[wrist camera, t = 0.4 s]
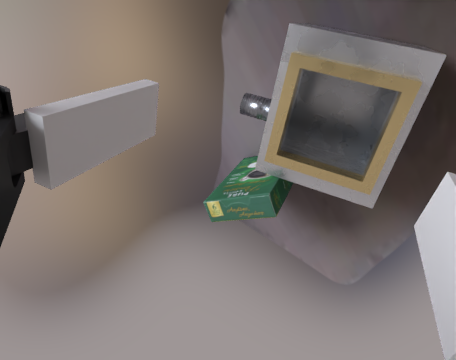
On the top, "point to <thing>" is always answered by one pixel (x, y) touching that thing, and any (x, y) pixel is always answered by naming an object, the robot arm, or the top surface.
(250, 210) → the coffee box
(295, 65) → the metal box
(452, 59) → the top surface
